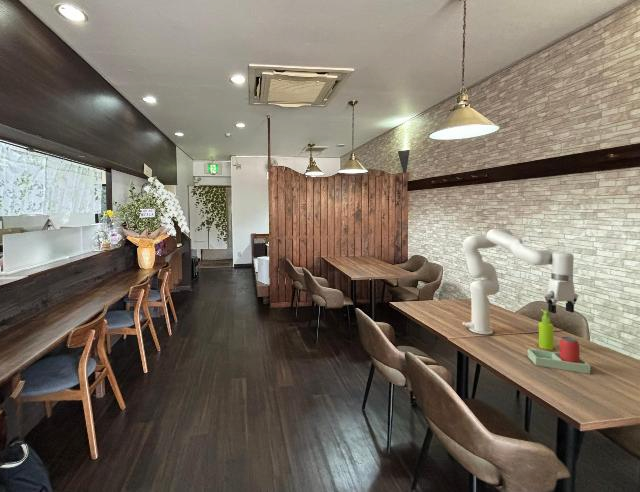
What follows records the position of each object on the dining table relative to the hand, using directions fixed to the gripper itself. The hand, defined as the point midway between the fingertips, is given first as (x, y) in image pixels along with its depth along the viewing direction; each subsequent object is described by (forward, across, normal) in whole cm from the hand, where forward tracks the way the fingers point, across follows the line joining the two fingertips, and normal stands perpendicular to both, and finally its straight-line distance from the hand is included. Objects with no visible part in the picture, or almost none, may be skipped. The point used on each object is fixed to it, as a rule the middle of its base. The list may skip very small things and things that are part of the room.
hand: (560, 312), depth 140 cm
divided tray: (+24, +4, +2) cm, 25 cm away
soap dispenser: (+25, -9, -14) cm, 30 cm away
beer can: (+24, 0, +5) cm, 24 cm away
